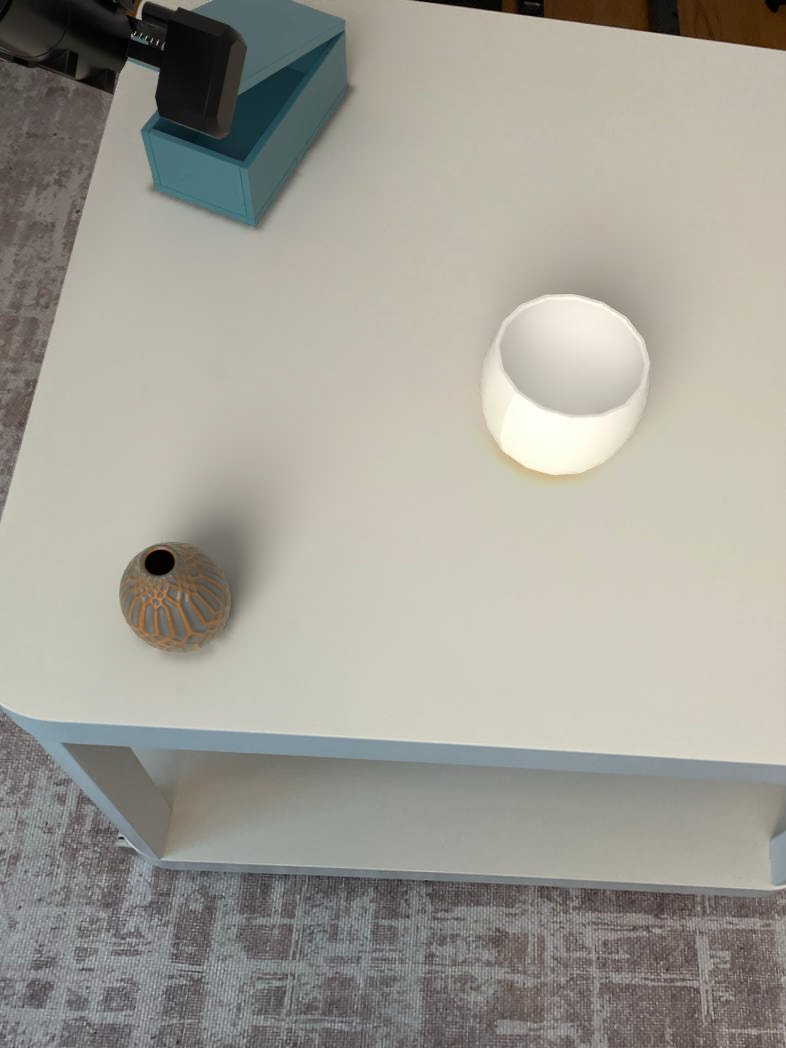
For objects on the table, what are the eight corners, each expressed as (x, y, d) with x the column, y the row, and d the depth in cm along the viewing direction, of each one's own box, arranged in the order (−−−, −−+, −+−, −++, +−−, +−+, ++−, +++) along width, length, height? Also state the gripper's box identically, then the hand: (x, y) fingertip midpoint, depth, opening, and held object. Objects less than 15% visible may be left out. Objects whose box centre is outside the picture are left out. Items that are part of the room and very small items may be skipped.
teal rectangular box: (255, 227, 78) (247, 169, 73) (155, 189, 78) (139, 130, 73) (347, 90, 86) (345, 30, 80) (255, 57, 86) (248, -6, 81)
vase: (255, 601, 64) (239, 541, 56) (203, 682, 62) (178, 631, 54) (170, 560, 65) (141, 495, 57) (114, 639, 62) (76, 582, 54)
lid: (232, 99, 66) (232, 38, 63) (115, 56, 67) (109, -7, 64) (345, 30, 80) (349, -24, 77) (247, -6, 81) (248, -60, 78)
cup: (655, 448, 73) (693, 368, 64) (545, 530, 69) (570, 457, 60) (551, 349, 76) (575, 261, 67) (440, 423, 72) (450, 338, 63)
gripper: (208, -117, 47) (309, -12, 62) (-116, -232, 48) (59, -102, 63) (166, 114, 51) (270, 161, 66) (-133, 5, 52) (36, 75, 67)
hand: (161, 72), depth 65 cm, fingers open, 9 cm apart
